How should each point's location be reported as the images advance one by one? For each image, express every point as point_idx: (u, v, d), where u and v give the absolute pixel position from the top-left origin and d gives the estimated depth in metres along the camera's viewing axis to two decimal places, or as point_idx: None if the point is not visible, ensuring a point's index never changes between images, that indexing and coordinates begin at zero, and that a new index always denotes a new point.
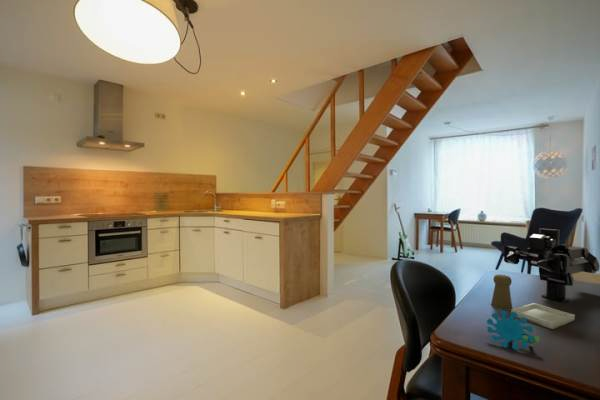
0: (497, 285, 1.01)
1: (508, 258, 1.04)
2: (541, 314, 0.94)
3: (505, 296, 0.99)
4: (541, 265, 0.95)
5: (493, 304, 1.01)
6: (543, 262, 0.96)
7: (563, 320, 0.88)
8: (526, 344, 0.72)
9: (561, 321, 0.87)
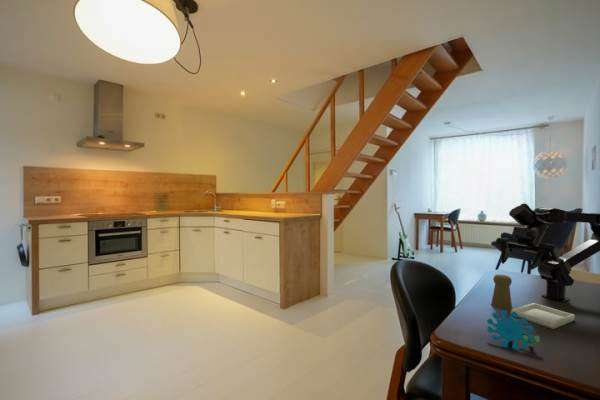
0: (497, 285, 1.01)
1: (503, 262, 1.09)
2: (541, 314, 0.94)
3: (505, 296, 0.99)
4: (534, 267, 1.01)
5: (493, 304, 1.01)
6: (535, 264, 1.01)
7: (563, 320, 0.88)
8: (526, 344, 0.72)
9: (561, 321, 0.87)
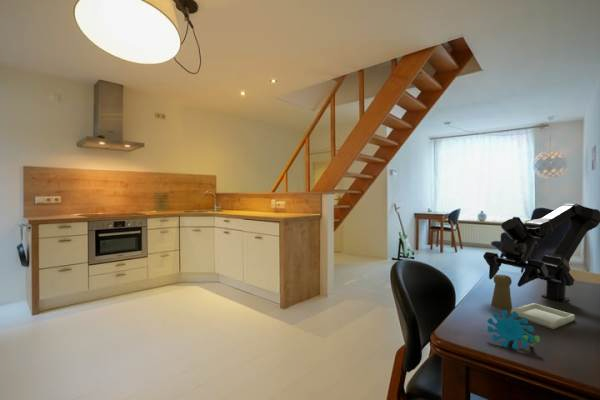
0: (497, 285, 1.01)
1: (491, 277, 1.06)
2: (541, 314, 0.94)
3: (505, 296, 0.99)
4: (522, 284, 0.98)
5: (493, 304, 1.01)
6: (522, 281, 0.98)
7: (563, 320, 0.88)
8: (526, 344, 0.72)
9: (561, 321, 0.87)
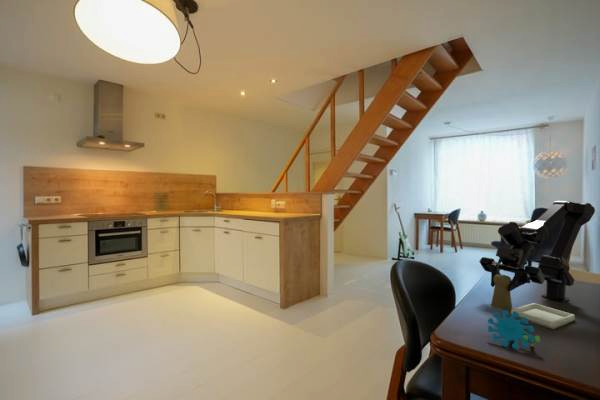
0: (497, 285, 1.01)
1: (493, 285, 1.03)
2: (541, 314, 0.94)
3: (505, 296, 0.99)
4: (512, 289, 0.99)
5: (493, 304, 1.01)
6: (512, 286, 0.98)
7: (563, 320, 0.88)
8: (526, 344, 0.72)
9: (561, 321, 0.87)
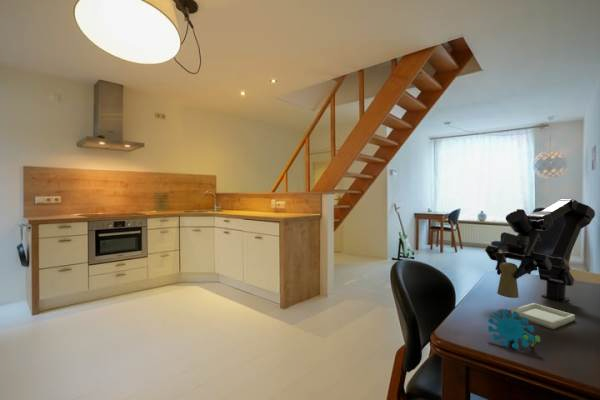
0: (503, 273, 1.00)
1: (499, 273, 1.02)
2: (541, 314, 0.94)
3: (511, 284, 0.98)
4: (518, 276, 0.97)
5: (499, 292, 1.00)
6: (519, 273, 0.97)
7: (563, 320, 0.88)
8: (526, 343, 0.72)
9: (561, 321, 0.87)
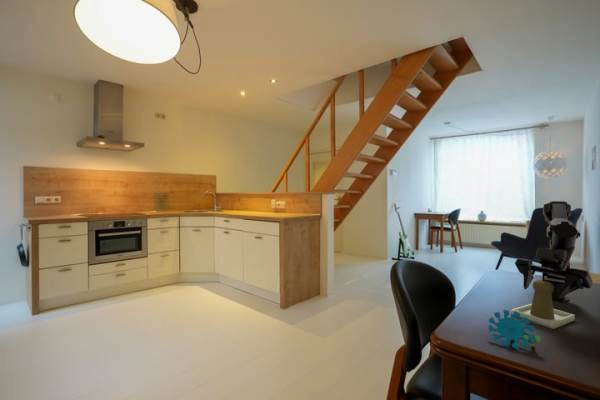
0: (537, 292, 0.92)
1: (526, 287, 0.96)
2: None
3: (547, 304, 0.91)
4: (562, 295, 0.88)
5: (533, 313, 0.93)
6: (563, 292, 0.88)
7: (563, 320, 0.88)
8: (526, 343, 0.72)
9: (561, 321, 0.87)
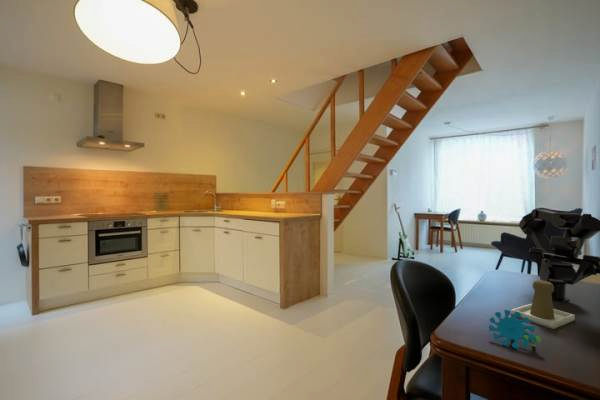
0: (537, 292, 0.92)
1: (540, 274, 1.00)
2: None
3: (547, 304, 0.91)
4: (577, 281, 0.92)
5: (533, 313, 0.93)
6: (578, 277, 0.92)
7: (563, 320, 0.88)
8: (526, 343, 0.72)
9: (561, 321, 0.87)
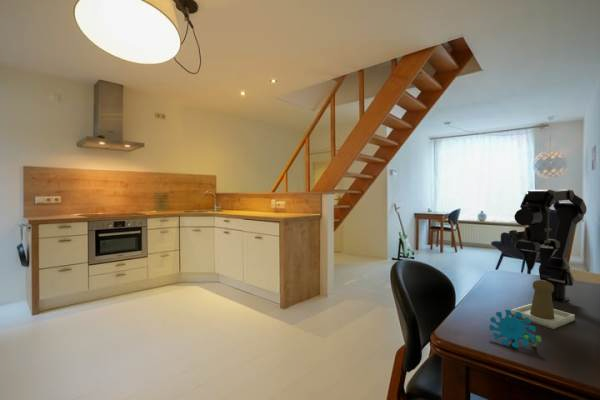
0: (537, 292, 0.92)
1: (543, 265, 1.06)
2: None
3: (547, 304, 0.91)
4: (531, 266, 1.01)
5: (533, 313, 0.93)
6: (527, 264, 1.02)
7: (563, 320, 0.88)
8: (526, 343, 0.72)
9: (561, 321, 0.87)
